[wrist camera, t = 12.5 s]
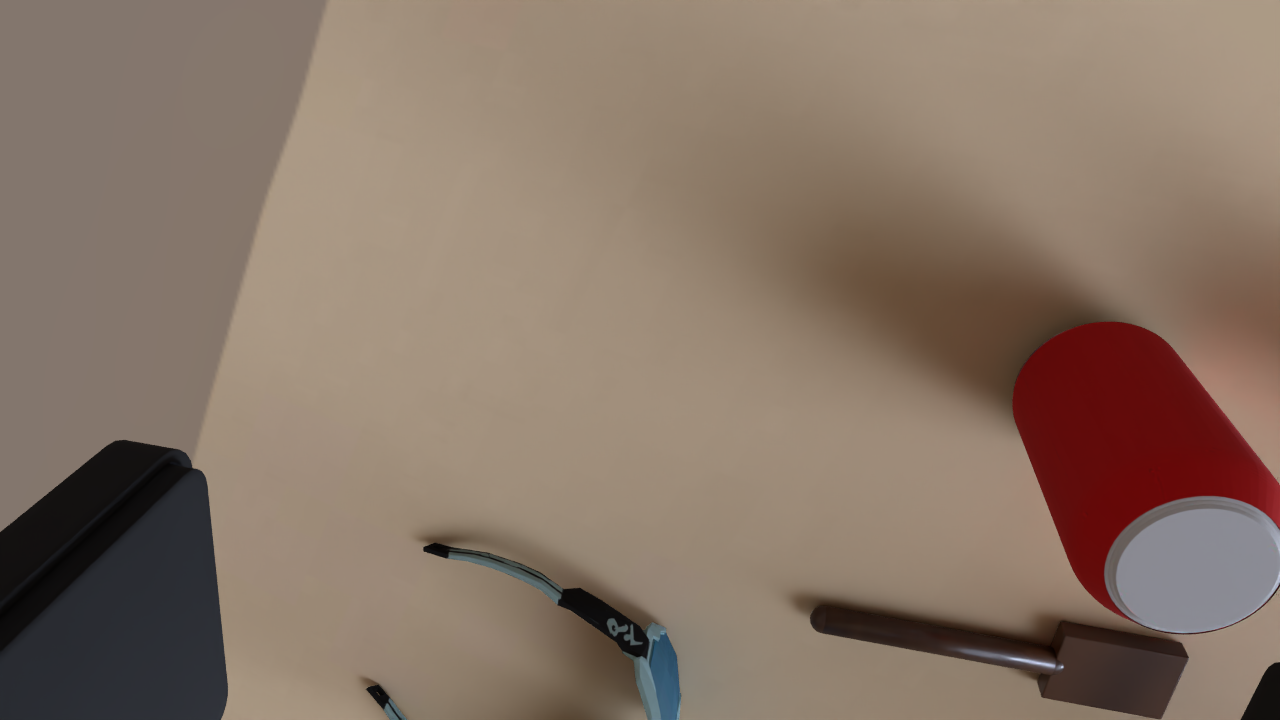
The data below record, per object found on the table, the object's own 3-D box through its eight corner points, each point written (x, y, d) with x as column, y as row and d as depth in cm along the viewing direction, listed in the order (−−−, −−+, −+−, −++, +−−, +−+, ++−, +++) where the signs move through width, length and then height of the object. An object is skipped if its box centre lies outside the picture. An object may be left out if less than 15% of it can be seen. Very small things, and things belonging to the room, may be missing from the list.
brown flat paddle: (803, 638, 47) (803, 656, 45) (817, 576, 45) (818, 593, 44) (1154, 703, 45) (1163, 724, 44) (1182, 642, 44) (1191, 661, 43)
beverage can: (973, 382, 40) (1034, 567, 29) (1105, 277, 37) (1225, 437, 27) (1076, 479, 41) (1171, 690, 30) (1211, 383, 38) (1367, 577, 28)
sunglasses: (622, 822, 53) (592, 902, 49) (378, 684, 54) (328, 751, 50) (736, 640, 47) (714, 713, 42) (458, 489, 48) (408, 544, 44)
